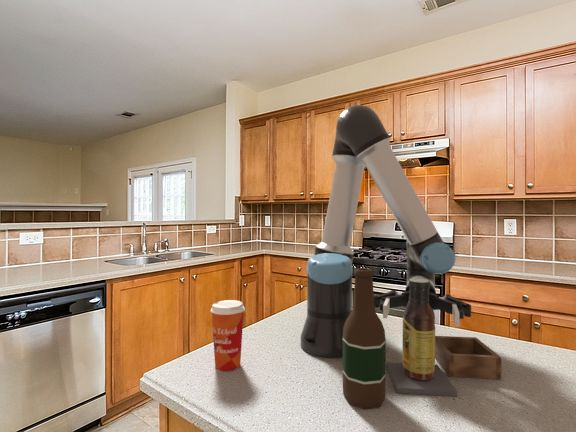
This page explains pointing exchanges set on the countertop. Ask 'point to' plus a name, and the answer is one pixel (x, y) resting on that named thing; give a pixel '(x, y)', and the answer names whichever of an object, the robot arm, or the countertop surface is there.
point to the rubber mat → (420, 382)
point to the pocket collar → (467, 357)
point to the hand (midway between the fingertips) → (419, 315)
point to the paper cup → (227, 333)
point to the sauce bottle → (419, 332)
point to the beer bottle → (364, 347)
